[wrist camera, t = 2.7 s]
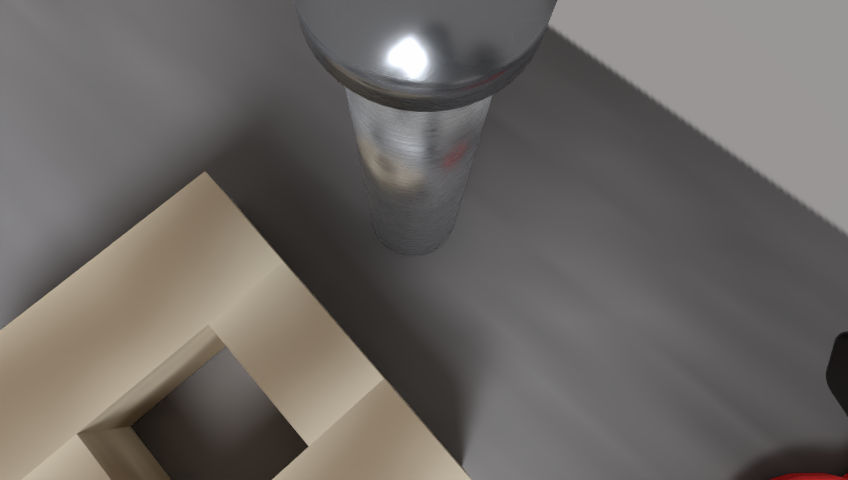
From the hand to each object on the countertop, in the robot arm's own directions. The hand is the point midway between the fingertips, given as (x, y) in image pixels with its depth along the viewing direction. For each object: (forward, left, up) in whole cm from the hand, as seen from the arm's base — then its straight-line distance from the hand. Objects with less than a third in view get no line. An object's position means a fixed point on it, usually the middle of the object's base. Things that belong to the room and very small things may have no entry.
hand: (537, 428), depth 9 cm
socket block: (+4, +6, -13) cm, 15 cm away
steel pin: (+6, -3, -13) cm, 14 cm away
